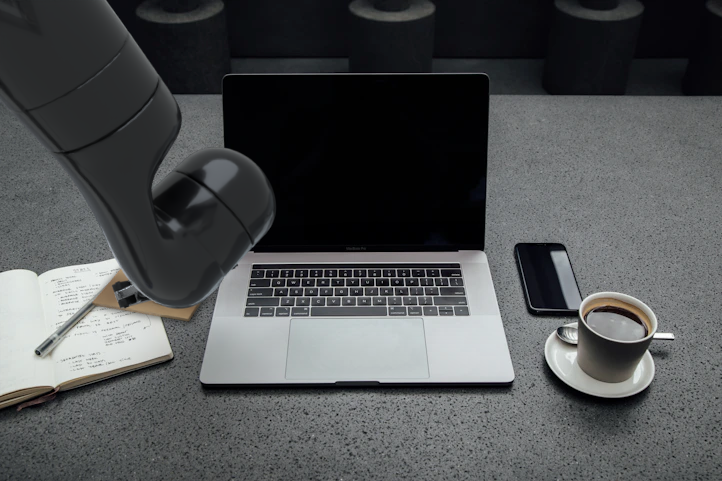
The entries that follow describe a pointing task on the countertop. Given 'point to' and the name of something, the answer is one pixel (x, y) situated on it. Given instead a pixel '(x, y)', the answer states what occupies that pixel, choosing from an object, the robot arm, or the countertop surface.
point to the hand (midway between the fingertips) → (173, 285)
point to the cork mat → (150, 307)
